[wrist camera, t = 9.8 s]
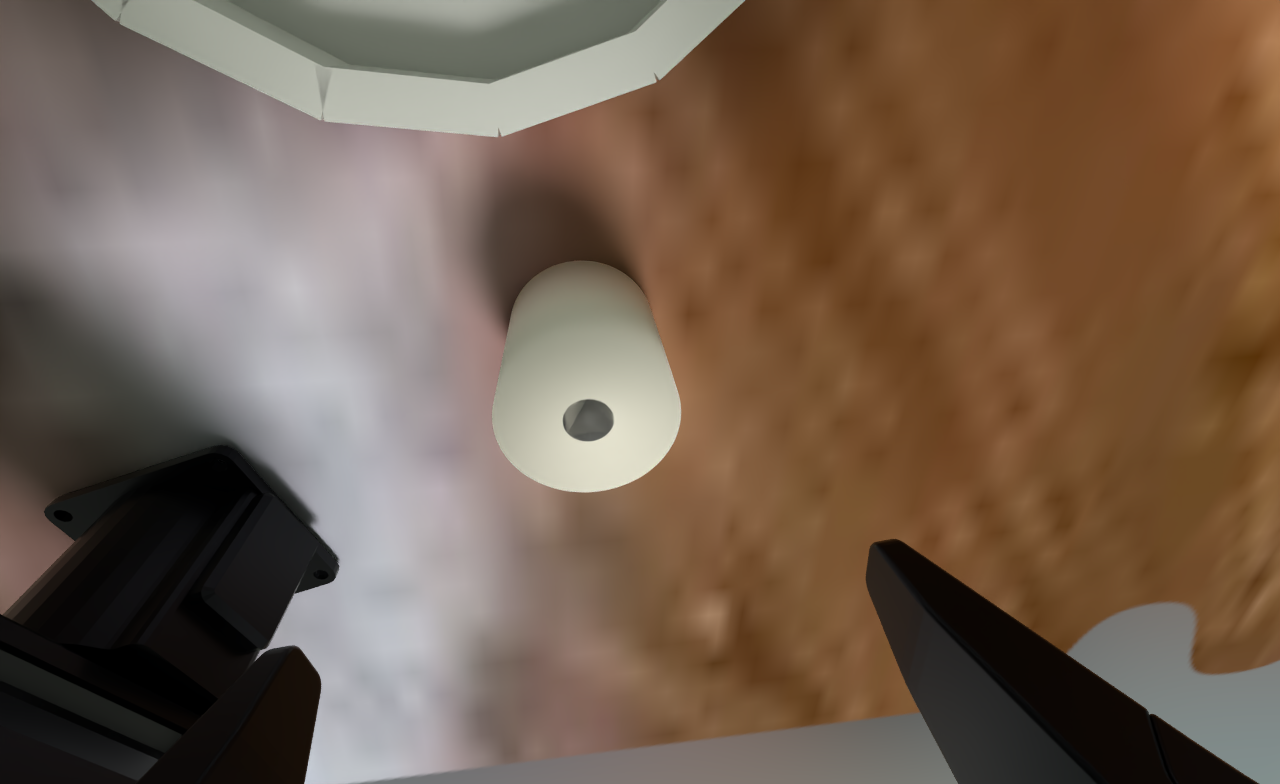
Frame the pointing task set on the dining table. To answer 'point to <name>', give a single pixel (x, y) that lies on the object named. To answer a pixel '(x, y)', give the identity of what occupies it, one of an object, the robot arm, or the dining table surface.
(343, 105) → the groove dish
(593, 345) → the cream bead
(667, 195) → the dining table surface
